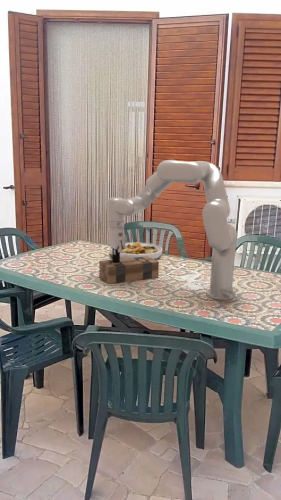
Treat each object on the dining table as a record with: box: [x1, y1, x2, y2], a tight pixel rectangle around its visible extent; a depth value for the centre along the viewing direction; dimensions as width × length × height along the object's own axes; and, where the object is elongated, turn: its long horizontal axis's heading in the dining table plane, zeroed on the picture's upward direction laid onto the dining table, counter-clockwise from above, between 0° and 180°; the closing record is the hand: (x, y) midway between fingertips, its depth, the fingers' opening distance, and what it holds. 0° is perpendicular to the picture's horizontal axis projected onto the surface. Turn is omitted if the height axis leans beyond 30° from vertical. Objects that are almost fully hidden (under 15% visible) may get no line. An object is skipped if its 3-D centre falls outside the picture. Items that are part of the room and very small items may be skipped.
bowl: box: [109, 241, 163, 260], centre depth 259 cm, size 30×30×8 cm
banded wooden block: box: [98, 256, 160, 285], centre depth 218 cm, size 12×26×8 cm, turn 116°
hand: (115, 262), depth 214 cm, fingers closed
